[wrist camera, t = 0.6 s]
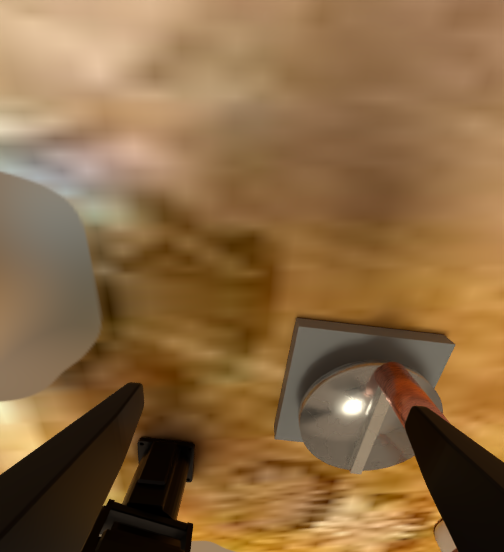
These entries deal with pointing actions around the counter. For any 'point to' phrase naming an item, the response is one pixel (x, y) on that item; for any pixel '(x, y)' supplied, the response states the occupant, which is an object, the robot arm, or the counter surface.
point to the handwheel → (364, 414)
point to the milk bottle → (444, 538)
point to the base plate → (350, 359)
